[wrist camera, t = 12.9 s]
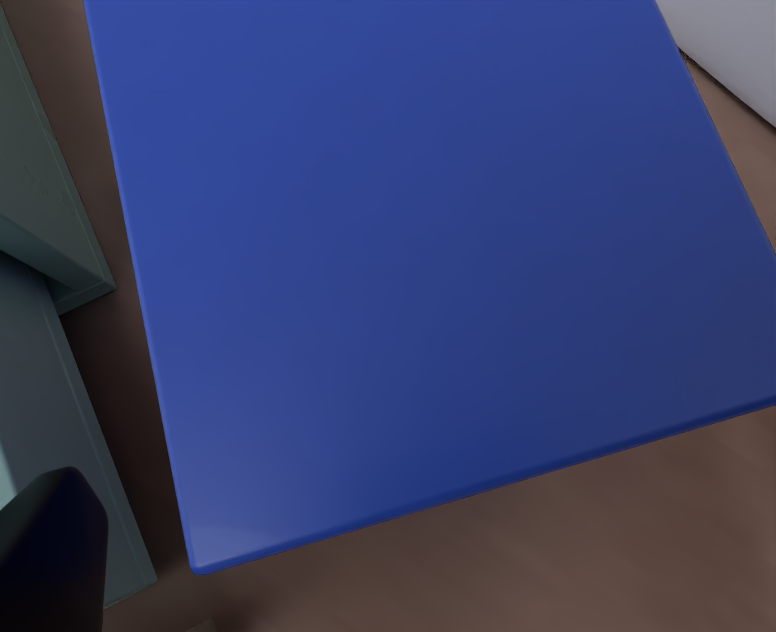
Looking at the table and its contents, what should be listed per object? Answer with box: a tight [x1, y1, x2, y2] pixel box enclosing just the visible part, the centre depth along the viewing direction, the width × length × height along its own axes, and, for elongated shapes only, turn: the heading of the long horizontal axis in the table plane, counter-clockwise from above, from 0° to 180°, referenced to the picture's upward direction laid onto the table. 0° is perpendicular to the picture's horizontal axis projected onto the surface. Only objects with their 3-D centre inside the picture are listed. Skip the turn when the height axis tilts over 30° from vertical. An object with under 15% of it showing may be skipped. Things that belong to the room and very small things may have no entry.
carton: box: [83, 0, 776, 575], centre depth 11 cm, size 7×5×12 cm
